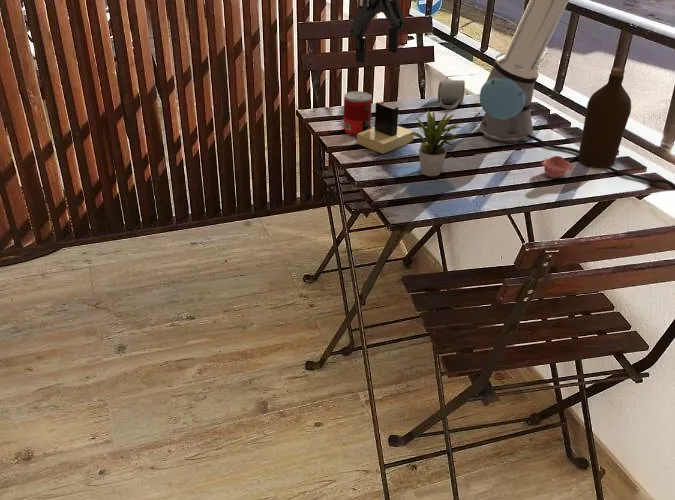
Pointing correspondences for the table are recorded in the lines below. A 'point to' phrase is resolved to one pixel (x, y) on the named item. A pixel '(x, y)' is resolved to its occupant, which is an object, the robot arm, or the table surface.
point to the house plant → (434, 144)
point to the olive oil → (605, 122)
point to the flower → (556, 166)
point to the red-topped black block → (386, 118)
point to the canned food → (357, 112)
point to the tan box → (384, 139)
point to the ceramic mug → (451, 93)
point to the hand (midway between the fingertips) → (376, 57)
